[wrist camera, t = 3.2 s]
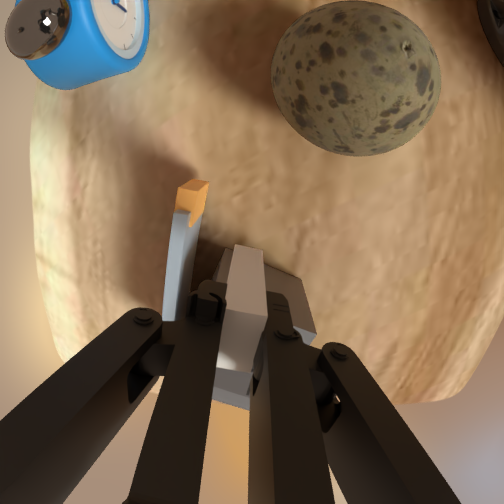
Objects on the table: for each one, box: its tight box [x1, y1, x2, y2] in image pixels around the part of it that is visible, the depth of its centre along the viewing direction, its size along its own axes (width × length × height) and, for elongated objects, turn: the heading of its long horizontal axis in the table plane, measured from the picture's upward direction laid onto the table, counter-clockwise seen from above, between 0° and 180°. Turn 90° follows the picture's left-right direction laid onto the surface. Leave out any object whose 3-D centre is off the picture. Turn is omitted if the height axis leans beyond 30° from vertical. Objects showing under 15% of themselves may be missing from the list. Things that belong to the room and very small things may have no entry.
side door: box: [162, 179, 209, 321], centre depth 25 cm, size 16×2×7 cm, turn 168°
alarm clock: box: [5, 0, 149, 90], centre depth 13 cm, size 13×6×15 cm, turn 4°
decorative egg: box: [271, 1, 441, 156], centre depth 16 cm, size 11×11×15 cm
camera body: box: [211, 248, 317, 411], centre depth 26 cm, size 11×8×10 cm
